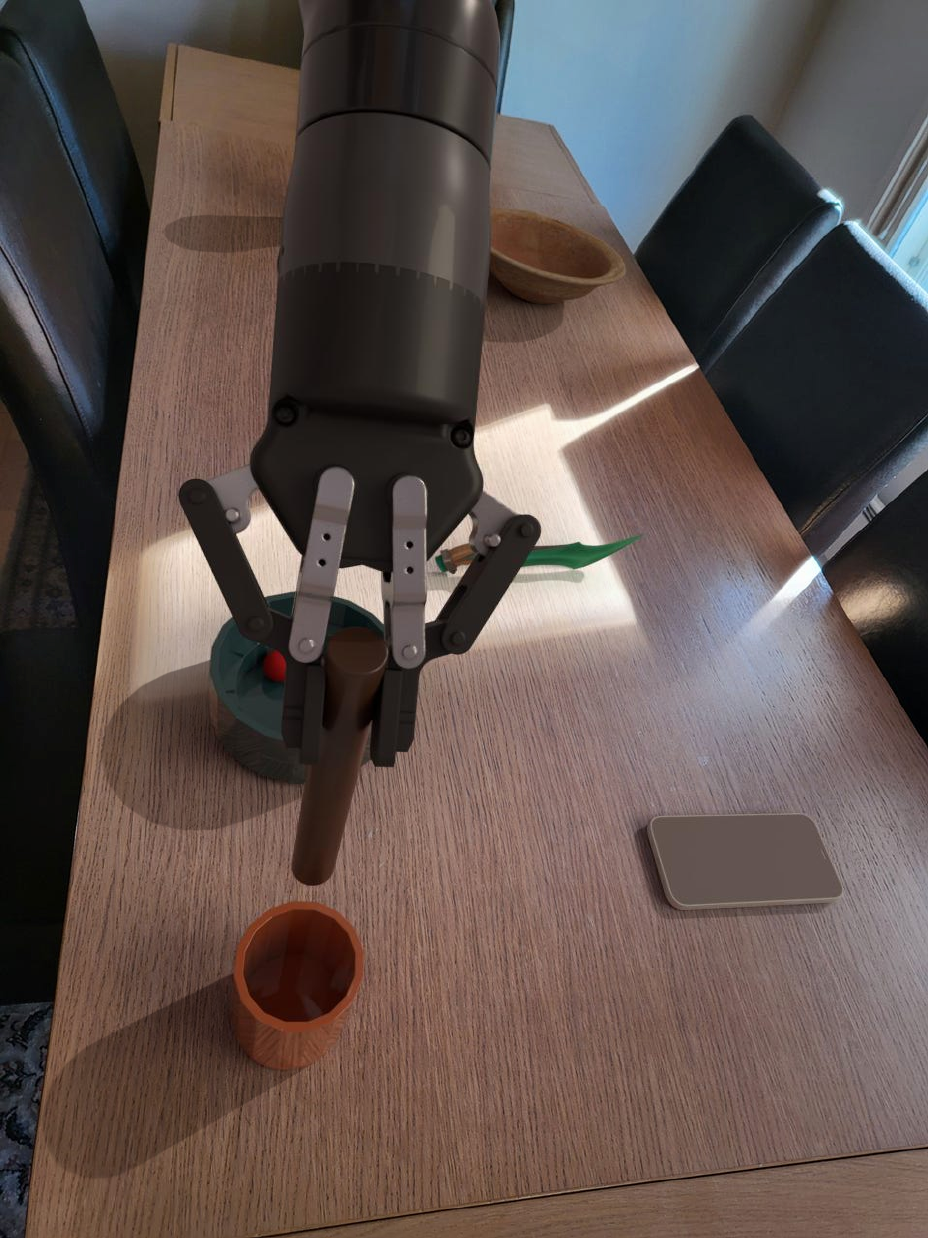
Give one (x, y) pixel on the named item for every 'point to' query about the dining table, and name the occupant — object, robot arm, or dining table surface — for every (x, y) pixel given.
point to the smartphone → (742, 860)
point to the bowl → (548, 257)
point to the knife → (539, 555)
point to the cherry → (275, 666)
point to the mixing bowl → (265, 692)
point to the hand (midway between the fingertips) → (345, 759)
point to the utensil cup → (294, 983)
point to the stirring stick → (338, 749)
